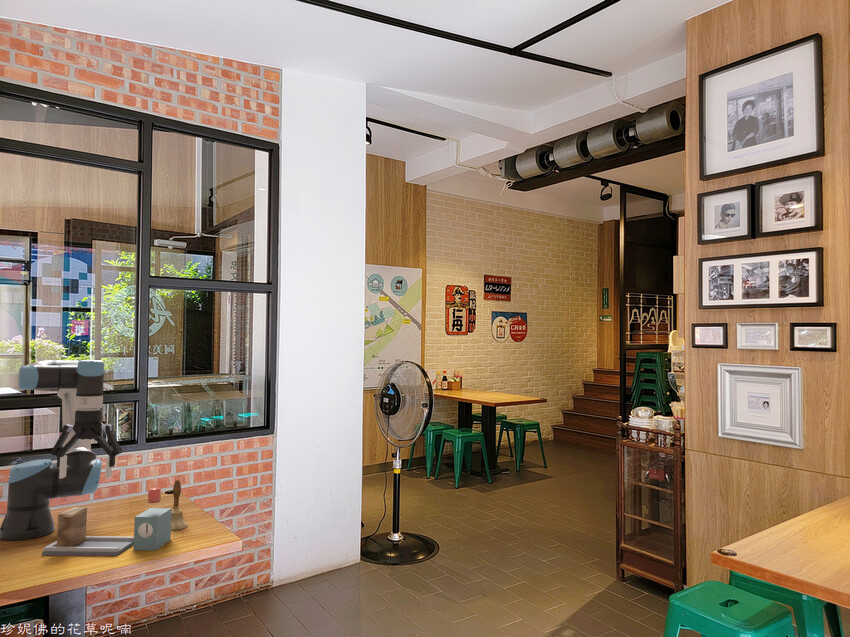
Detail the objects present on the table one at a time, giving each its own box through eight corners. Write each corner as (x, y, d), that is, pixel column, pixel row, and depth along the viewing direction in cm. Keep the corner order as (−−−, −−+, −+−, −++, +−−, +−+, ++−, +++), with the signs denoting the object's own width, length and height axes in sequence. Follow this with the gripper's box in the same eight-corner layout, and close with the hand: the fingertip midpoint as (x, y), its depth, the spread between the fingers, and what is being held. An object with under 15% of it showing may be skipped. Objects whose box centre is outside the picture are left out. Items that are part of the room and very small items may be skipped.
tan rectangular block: (56, 548, 173) (58, 514, 174) (72, 539, 181) (74, 507, 182) (70, 548, 173) (71, 514, 174) (85, 539, 181) (87, 507, 182)
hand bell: (179, 522, 206) (180, 476, 207) (192, 526, 201) (194, 479, 202) (156, 527, 199) (158, 480, 200) (170, 532, 195) (172, 484, 196)
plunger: (145, 503, 180) (146, 490, 181) (151, 500, 184) (151, 487, 184) (157, 503, 181) (157, 490, 181) (162, 500, 184) (162, 487, 184)
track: (42, 555, 171) (42, 548, 171) (66, 541, 183) (67, 535, 183) (116, 555, 171) (116, 548, 172) (136, 542, 183) (136, 536, 184)
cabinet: (132, 550, 176) (133, 517, 176) (148, 539, 186) (150, 508, 187) (155, 551, 176) (156, 517, 176) (170, 539, 187) (171, 508, 187)
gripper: (40, 410, 177) (36, 480, 176) (125, 410, 180) (122, 479, 179) (53, 407, 185) (49, 475, 183) (134, 408, 187) (132, 474, 186)
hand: (85, 477), depth 181 cm, fingers open, 13 cm apart
